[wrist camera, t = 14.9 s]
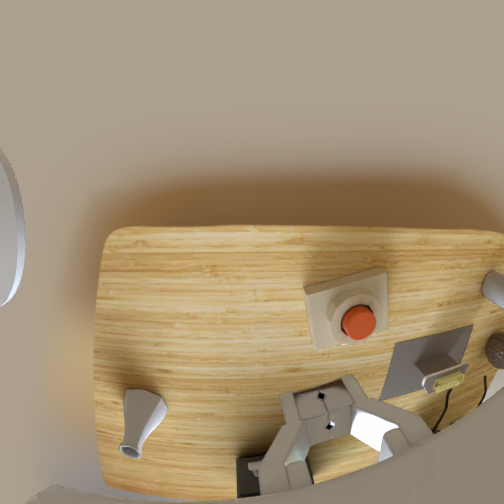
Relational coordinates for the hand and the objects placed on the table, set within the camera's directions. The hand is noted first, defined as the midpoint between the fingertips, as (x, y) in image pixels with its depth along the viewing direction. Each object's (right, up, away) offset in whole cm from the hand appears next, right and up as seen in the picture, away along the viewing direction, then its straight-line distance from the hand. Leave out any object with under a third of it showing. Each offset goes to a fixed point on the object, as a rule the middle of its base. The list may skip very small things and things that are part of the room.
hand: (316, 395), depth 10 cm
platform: (+27, -13, +28) cm, 41 cm away
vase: (+46, -13, +29) cm, 56 cm away
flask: (-19, -18, +27) cm, 37 cm away
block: (+9, -1, +24) cm, 25 cm away
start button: (+9, -2, +20) cm, 22 cm away
